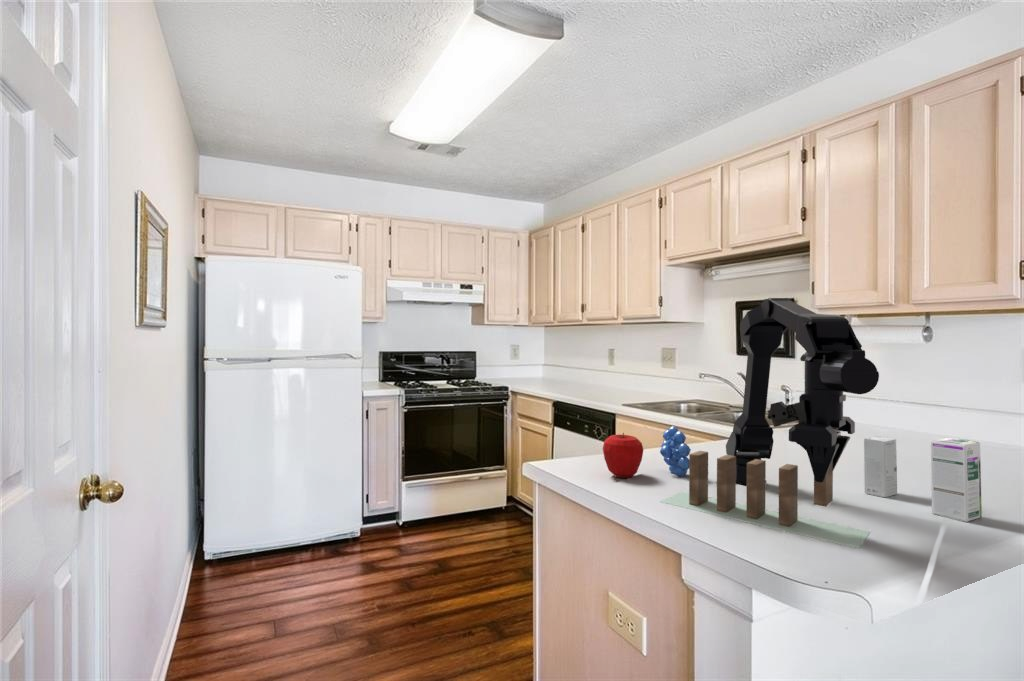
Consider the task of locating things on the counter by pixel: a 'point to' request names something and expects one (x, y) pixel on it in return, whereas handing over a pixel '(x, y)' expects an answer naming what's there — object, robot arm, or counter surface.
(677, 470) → the grapes
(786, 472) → the domino
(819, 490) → the domino
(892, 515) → the counter surface
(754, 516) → the domino
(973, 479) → the syrup box
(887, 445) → the skincare box
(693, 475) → the domino
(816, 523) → the board
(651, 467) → the counter surface
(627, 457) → the apple
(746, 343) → the robot arm
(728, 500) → the domino
